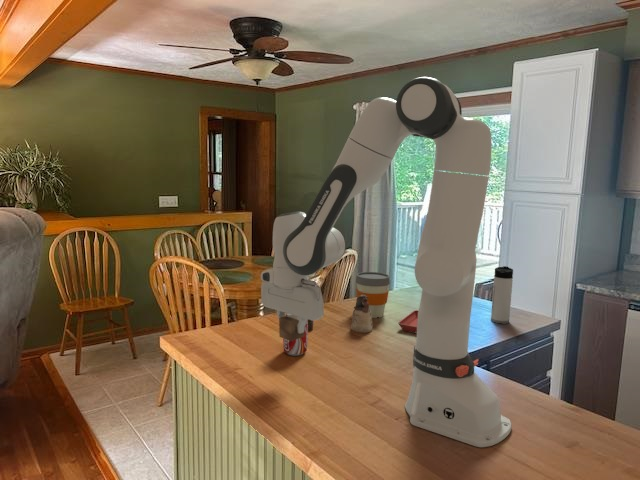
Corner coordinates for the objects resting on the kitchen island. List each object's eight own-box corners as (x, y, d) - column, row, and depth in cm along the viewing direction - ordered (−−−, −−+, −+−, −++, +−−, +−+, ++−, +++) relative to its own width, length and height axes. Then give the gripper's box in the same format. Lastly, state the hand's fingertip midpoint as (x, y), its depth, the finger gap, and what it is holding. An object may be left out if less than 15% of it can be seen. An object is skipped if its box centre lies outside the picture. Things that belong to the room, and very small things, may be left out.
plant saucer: (450, 342, 152) (450, 332, 151) (396, 332, 160) (397, 322, 160) (463, 327, 167) (464, 318, 167) (414, 318, 176) (414, 309, 176)
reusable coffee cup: (355, 308, 186) (357, 271, 184) (388, 310, 184) (389, 272, 182) (353, 318, 173) (354, 278, 171) (388, 320, 172) (390, 279, 170)
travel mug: (510, 320, 175) (515, 267, 172) (507, 325, 170) (511, 270, 167) (493, 317, 179) (497, 265, 176) (488, 321, 173) (493, 268, 170)
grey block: (304, 336, 121) (304, 317, 120) (291, 340, 118) (290, 321, 117) (292, 332, 124) (292, 314, 123) (279, 336, 121) (279, 317, 120)
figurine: (367, 325, 166) (368, 291, 164) (375, 331, 159) (377, 297, 157) (348, 326, 163) (349, 292, 162) (356, 333, 157) (357, 298, 155)
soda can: (304, 358, 135) (305, 317, 133) (280, 355, 136) (280, 315, 134) (309, 349, 142) (310, 310, 140) (286, 347, 143) (287, 308, 141)
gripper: (329, 280, 114) (329, 336, 116) (275, 269, 128) (276, 319, 130) (310, 284, 109) (310, 342, 111) (256, 272, 124) (257, 324, 126)
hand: (291, 330), depth 121 cm, fingers closed on grey block, 4 cm apart
